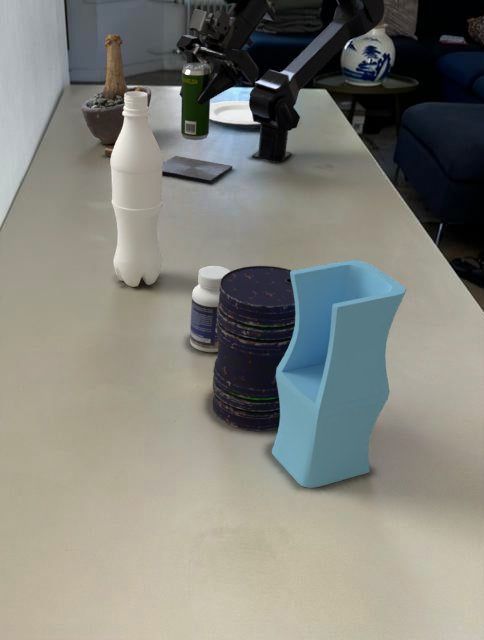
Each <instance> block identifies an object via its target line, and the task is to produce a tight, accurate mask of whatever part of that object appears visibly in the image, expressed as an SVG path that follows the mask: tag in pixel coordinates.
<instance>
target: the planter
mask: <svg viewBox="0 0 484 640" xmlns="http://www.w3.org/2000/svg"><path fill="white" fill-rule="evenodd" d="M104 40H105V42H104V46H105V47H106V72H105V73H106V75H105V83H104V86H103V90H100V92H98V93H96V94H94V95H93V96H92V97H90V98H88V99H87V100H85V101H84V102H83V103H82V104H81V112H82V115H83V119H84V121H85V123H86V126H87V128H88V130H89V131H90V133H91V134H92V136H94V137H95V138H96V139H99V141H101V143H102V144H103V145H106V146H110V145H115V143H116V141H117V139H118V137H119V135H120V132H121V130H122V127H123V124H124V116H123V114H122V112H123V111H124V109H123V108H124V106H125V102H124V100H125V99H124V94H125V93H127V92H133V91H139V92H145V93H147V96H148V98H147V99H148V100H147V102H148V104H147V106H148V108H149V109H150V105H151V100H152V89H151V88H150V87H149V86H141V85H137V86H132V87H130V86H129V87H128V85H127V82H126V79H125V74H124V64H123V55H122V47H121V46H122V44H123V39H122V38H121V36H120V35H119V34H117V33H108V34H107V35H106V37H105V39H104Z"/></svg>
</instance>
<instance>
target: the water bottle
mask: <svg viewBox="0 0 484 640" xmlns="http://www.w3.org/2000/svg"><path fill="white" fill-rule="evenodd" d="M147 98H148V96H147V93H145V92H139V91H133V92H127V93H125V94H124V99H125V100H124V102H125V106H124V108H123V109H124V111H123V112H122V114H123V116H124V124H123V127H122V130H121V132H120V135H119V137H118V139H117V141H116V143H115V144H114V146H113V147H114V148H113V151H112V154H111V157H110V161H109V162H110V163H109V166H110V169H111V170H110V172H111V174H110V175H111V191H112V192H111V195H112V197H111V205H112V207H113V210H114V215H115V220H116V228H117V242H116V249H115V253H114V256H113V259H112V261H113V267H114V268H113V269H114V272H115V274H116V277H117V278H118V280H120V281H121V282H124V284H125V285H127V286H129V287H132V288H135V287H139V284H140V282H141V280H143V281H144V283H145V285H147V286H150V285H153V284H154V283H156V281H157V280H158V278H159V275H160V273H161V269H162V265H163V256H162V252H161V250H160V245H159V239H158V222H159V216H160V213H161V210H162V208H163V205H164V204H163V202H164V201H163V199H162V198H163V196H162V195H163V175H162V166H163V162H164V159H163V155H162V151H161V149H160V145H159V144H158V142H157V139H156V137H155V136H154V134H153V131H152V129H151V126H150V123H149V122H150V121H149V116H150V115H151V114H150V110H149V109H150V107H149V108H148V106H147V104H148V102H147V100H148V99H147Z"/></svg>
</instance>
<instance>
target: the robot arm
mask: <svg viewBox="0 0 484 640" xmlns="http://www.w3.org/2000/svg"><path fill="white" fill-rule="evenodd" d="M335 1H336V2H337V5H338V6H337V7H336V9H335V12H334V16H333V19H332V21H331V22H330V23H329V25H327V27H325V29H324V30H323V31H321V32H320V34H319V35H318V36H316V38H314V39H313V40H312V42H310V43H309V44H308V45H307V47H305V49H303V50H302V51H301V52H300V54H298V56H297V57H296V58H294V59H293V61H292V62H290V64H288V65H287V66H286V68H284V69H283V70H282V71H280V72H279V71H277V70H273V69H268V70H267V71H265V73H264V74H263V75H262V77H260V78H259V80H257V79H258V77H259V70H260V69H259V66H257V64H256V62H255V61H254V59H253V58H252V56H251V55H250V53H249V52H248V51H247V50H245V49H244V47H246V48H251V46H252V44H253V40H252V39H251V37H252V36H253V35H254V33H255V31H256V30H257V28H258V27H259V26H260V24H261V23H262V21H263V20H269V21H275V20H276V10H275V7H276V6H275V5H276V4H275V2H273V1H269V0H222V2H223V3H224V4H226V5H232V4H233V5H232V6H231V7H230V9H229V11H228V12H227V11H223V10H220V9H218V10H216V11H215V13H212V12H209V11H205V10H201V9H197V8H194V9H193V13H192V16H191V18H190V21H189V25H188V30H189V31H191V32H193V31H194V32H196V33H198V34H200V35H202V37H201V39H200V38H199V37H197V36H194V35H190V34H183V35H181V36H180V38H179V39H178V41H177V43H176V48H177V49H178V50H179V52H181V54H182V55H183V57H184V58H185V59H186V64H187V63H206V64H209V65H210V63H211V64H213V68H212V72H211V76H210V78H209V80H208V81H207V83H206V85H205V86H204V88H203V90H202V92H201V94H200V96H199V98H198V100H197V102H198V103H199V104H200V105H202V104H204V103H205V102H207V101H209V100H210V101H211V100H212V99H213V98H215V97H217V96H219V95H220V94H222V93H224V92H227V90H229V89H231V88H234V87H235V86H240V85H241V82H242V83H243V84H245V85H249V86H253V85H255V86H254V87H253V88H252V89H251V91H250V93H249V99H248V101H249V107H250V110H251V112H252V117H253V121H254V122H258V123H261V127H260V129H259V140H258V141H259V142H258V151H256V152H254V153H252V155H251V158H252V159H256V160H262V161H268V162H273V163H282V162H283V161H285V160H286V159H287V158H288V157H290V156H292V152H291V151H287V145H288V136H289V131H292V130H293V129H297V128H298V126H299V125H298V124H299V122H300V119H301V116H300V114H299V112H298V111H297V110H296V109H295V105H296V104H297V100H298V97H299V93H300V91H301V90H302V88H304V86H306V84H307V83H309V81H311V80H312V78H314V77H315V75H317V73H318V72H319V71H320V70H322V68H323V67H325V65H327V64H328V63H329V61H331V60H332V59H333V58H334V57H335V56H336V55H337V54H338V53H339V52H340V51H341V49H343V48H344V47H345V46H346V44H347V43H349V42H350V41H352V40H354V39H357V38H360V37H363V36H365V35H367V34H368V33H369V32H371V31H373V29H375V28H376V27H377V26H378V25H379V24H380V23H381V21H382V20H383V18H384V13H385V0H335ZM201 40H202V41H201ZM204 44H206V45H207V46H205V45H204ZM206 47H207V48H206ZM256 80H257V81H256ZM179 96H180V98H182V86H181V87H180V90H179Z"/></svg>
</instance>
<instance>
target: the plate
mask: <svg viewBox="0 0 484 640" xmlns="http://www.w3.org/2000/svg"><path fill="white" fill-rule="evenodd" d="M209 122H211V123H214V124H216V125H218V126H222V127H227V128H234V129H259V128H261V123H258V122H254V121H253V117H252V112H251V110H250V107H249V100H225V101H216V102H210V116H209Z"/></svg>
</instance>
